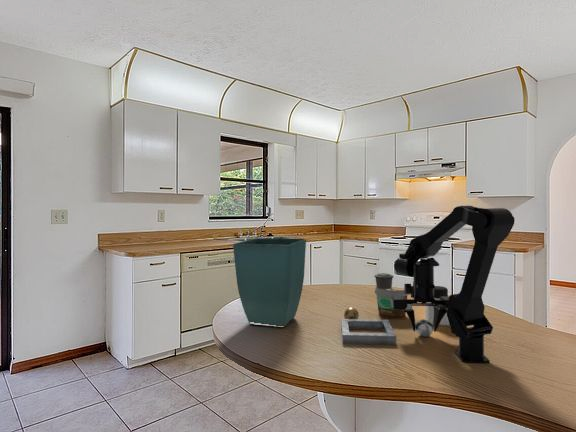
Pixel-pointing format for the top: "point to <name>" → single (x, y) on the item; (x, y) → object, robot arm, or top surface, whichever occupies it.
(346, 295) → the top surface
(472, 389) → the top surface
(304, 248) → the flower pot
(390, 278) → the coffee cup
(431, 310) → the medicine bottle
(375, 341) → the grey square frame
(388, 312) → the food container
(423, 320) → the steel ball
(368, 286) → the top surface
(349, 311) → the bronze ball
